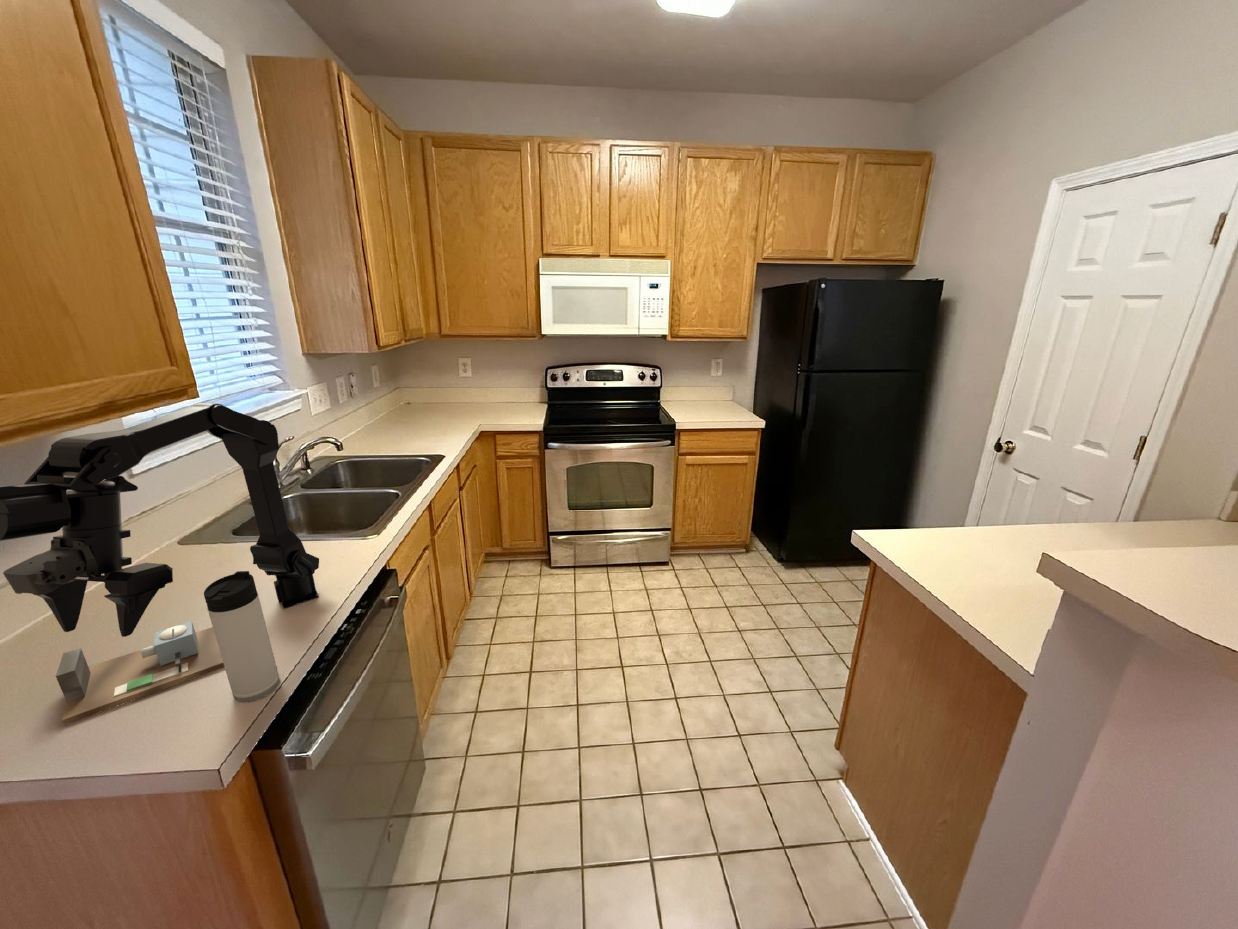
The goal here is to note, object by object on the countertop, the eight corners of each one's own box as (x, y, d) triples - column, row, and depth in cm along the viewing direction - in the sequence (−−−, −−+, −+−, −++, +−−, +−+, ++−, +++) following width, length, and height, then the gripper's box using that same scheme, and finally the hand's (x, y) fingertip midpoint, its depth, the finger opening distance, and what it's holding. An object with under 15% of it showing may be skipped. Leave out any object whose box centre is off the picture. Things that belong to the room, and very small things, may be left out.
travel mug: (289, 673, 84) (264, 569, 78) (264, 703, 78) (234, 592, 72) (252, 674, 84) (223, 570, 78) (224, 704, 77) (190, 593, 71)
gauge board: (237, 623, 97) (230, 597, 96) (244, 660, 87) (236, 631, 85) (77, 675, 84) (65, 645, 82) (64, 725, 74) (50, 692, 72)
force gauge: (197, 639, 91) (191, 619, 89) (199, 664, 84) (192, 642, 83) (146, 656, 86) (138, 635, 85) (143, 683, 80) (135, 661, 79)
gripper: (-47, 535, 62) (-39, 654, 63) (84, 543, 60) (90, 665, 62) (61, 518, 73) (66, 620, 74) (174, 525, 71) (178, 629, 73)
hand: (98, 633), depth 70 cm, fingers open, 9 cm apart
